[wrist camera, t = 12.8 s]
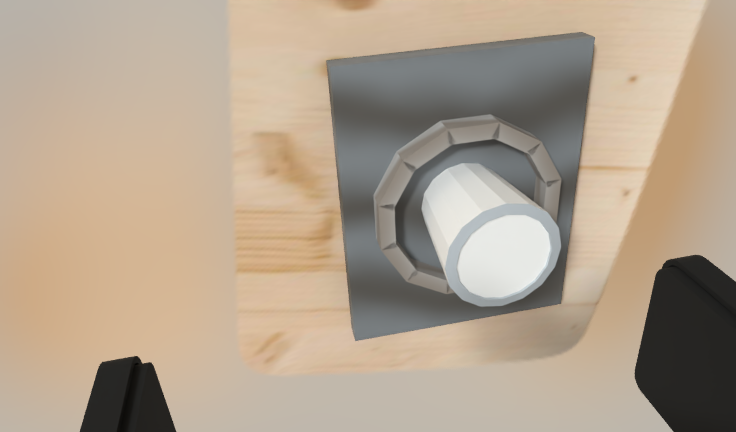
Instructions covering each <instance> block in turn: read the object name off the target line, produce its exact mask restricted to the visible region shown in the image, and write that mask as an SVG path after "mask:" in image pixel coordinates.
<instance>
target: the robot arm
mask: <svg viewBox="0 0 736 432" xmlns="http://www.w3.org/2000/svg"><path fill="white" fill-rule="evenodd" d="M635 379H636V383H637V385H638V387H639V389H640V390H641V392H642V393H643V394H644V395H645V397H646V398H647V399H648V400H649V402H650V403H651V404H652V405H653V407H654V408H655V409H656V410H657V412H658V413H659V414H660V415H661V416H662V418H663V419H664V420H665V422H666V423H667V424H668V425H669V427H670V428H671V429H672V430H673V431H674V432H736V282H735V281H734V280H733V279H732V278H730V277H729V276H728V275H726V274H725V273H724V272H723V271H721V270H720V269H719V268H718V267H716V266H715V265H714V264H712V263H711V262H710V261H709V260H707V259H706V258H704V257H703V256H700V255H692V256H686V257H681V258H675V259H670V260H667V261H666V262H665V263H664V264H663V267H662V269H660V270H659V271H658V272H657V274H656V277H655V281H654V286H653V290H652V295H651V300H650V304H649V309H648V313H647V318H646V322H645V327H644V331H643V336H642V341H641V345H640V349H639V354H638V359H637V363H636V368H635ZM80 432H176V430H175V427H174V424H173V421H172V418H171V415H170V412H169V409H168V406H167V404H166V400H165V398H164V395H163V392H162V389H161V386H160V383H159V380H158V377H157V374H156V371H155V369H154V366H153V364H152V363H150V362H149V363H144V364H142V362H141V360H140V358H139V357H138V356H134V357H128V358H123V359H117V360H111V361H106V362H102V363H101V364H100V366H99V368H98V371H97V375H96V378H95V381H94V385H93V388H92V391H91V395H90V398H89V402H88V406H87V409H86V412H85V415H84V419H83V422H82V426H81V429H80Z"/></svg>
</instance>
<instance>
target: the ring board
mask: <svg viewBox="0 0 736 432" xmlns="http://www.w3.org/2000/svg"><path fill="white" fill-rule="evenodd" d="M594 41H595V37H593V36H591V35H588V34H586V33H583V32H579V33H570V34H561V35H552V36H543V37H534V38H525V39H516V40H507V41H498V42H489V43H480V44H471V45H462V46H453V47H444V48H435V49H425V50H416V51H407V52H398V53H389V54H380V55H371V56H362V57H353V58H344V59H335V60H326V61H327V72H328V82H329V93H330V103H331V114H332V124H333V135H334V145H335V156H336V166H337V177H338V187H339V198H340V208H341V219H342V229H343V240H344V250H345V261H346V272H347V282H348V293H349V303H350V314H351V324H352V330H353V334H354V338H355V341H358V340H363V339H369V338H374V337H380V336H385V335H391V334H396V333H402V332H407V331H413V330H419V329H424V328H430V327H435V326H441V325H446V324H452V323H457V322H463V321H468V320H474V319H479V318H485V317H490V316H496V315H502V314H507V313H513V312H518V311H524V310H529V309H535V308H540V307H546V306H551V305H557V304H561V297H562V289H563V282H564V274H565V266H566V258H567V251H568V243H569V235H570V227H571V220H572V212H573V204H574V196H575V188H576V181H577V173H578V165H579V157H580V150H581V142H582V134H583V126H584V119H585V111H586V103H587V95H588V88H589V80H590V72H591V64H592V57H593V49H594ZM462 163H475V164H481V165H483V166H485V167H487V168H489V169H491V170H493V171H494V172H495V173H497V174H498V175H499V176H501V177H502V178H503V179H504V180H506V181H507V182H508V183H510V184H511V185H512V186H514V187H515V188H516V189H518V190H519V191H520V192H522V193H523V194H524V195H525V196H527V197H528V198H529V199H531V200H532V201H533V202H535V203H536V204H537V205H539V206H540V207H541V208H542V209H544V210H545V211H546V212H548V214H549V215H550V216H551V218H552V219H553V220H554V222H555V223H556V225H557V226H558V227H559V233H560V241H561V249H560V252H559V256H558V259H557V262H556V265H555V268H554V269H553V270H552V272H551V273H550V274H549V276H548V277H547V278H546V280H545V281H544V282H543V284H542V285H541V286H539V287H538V288H536V289H535V290H534V291H532V292H531V293H530V294H528V295H527V296H526V297H524V298H523V299H520V300H517V301H514V302H511V303H509V304H506V305H503V306H484V307H480V306H477V305H475V304H472V303H469V302H466V301H464V300H462V299H461V298H460V297H459V296H458V295H457V294H456V293H455V292H454V291H453V290H452V289H451V288H450V286H449V284H448V281H447V279H446V276H445V273H444V271H443V268H442V266H441V263H440V260H439V258H438V255H437V252H436V250H435V247H434V245H433V242H432V239H431V237H430V234H429V231H428V229H427V226H426V224H425V220H424V217H423V213H422V209H421V208H422V203H423V197H424V193H425V191H426V190H427V188H428V187H429V185H430V183H431V182H432V180H433V179H434V178H435V177H437V176H438V175H439V174H441V173H442V172H443V171H444V170H446V169H447V168H450V167H453V166H456V165H459V164H462Z"/></svg>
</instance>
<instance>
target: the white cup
mask: <svg viewBox="0 0 736 432" xmlns="http://www.w3.org/2000/svg"><path fill="white" fill-rule="evenodd" d="M421 209H422V213H423V217H424V220H425V224H426V226H427V229H428V231H429V234H430V237H431V239H432V242H433V245H434V247H435V250H436V252H437V255H438V258H439V260H440V263H441V266H442V268H443V271H444V273H445V276H446V279H447V281H448V284H449V286H450V288H451V289H452V290H453V291H454V292H455V293H456V294H457V295H458V296H459V297H460V298H461V299H462V300H464V301H466V302H469V303H472V304H475V305H477V306H480V307H484V306H503V305H506V304H509V303H511V302H514V301H517V300H520V299H523V298H524V297H526V296H527V295H528V294H530V293H531V292H532V291H534V290H535V289H536V288H538V287H539V286H541V285H542V284H543V282H544V281H545V280H546V278H547V277H548V276H549V274H550V273H551V272H552V270H553V269H554V268H555V265H556V262H557V259H558V256H559V252H560V249H561V241H560V233H559V227H558V226H557V225H556V223H555V222H554V220H553V219H552V218H551V216H550V215H549V214H548V212H546V211H545V210H544V209H542V208H541V207H540V206H539V205H537V204H536V203H535V202H533V201H532V200H531V199H529V198H528V197H527V196H525V195H524V194H523V193H522V192H520V191H519V190H518V189H516V188H515V187H514V186H512V185H511V184H510V183H508V182H507V181H506V180H504V179H503V178H502V177H501V176H499V175H498V174H497V173H495V172H494V171H493V170H491V169H489V168H487V167H485V166H483V165H481V164H475V163H462V164H459V165H456V166H453V167H450V168H447V169H446V170H444V171H443V172H442V173H441V174H439V175H438V176H437V177H435V178H434V179H433V180H432V182H431V183H430V185H429V187H428V188H427V190H426V191H425V193H424V197H423V203H422V208H421Z"/></svg>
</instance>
